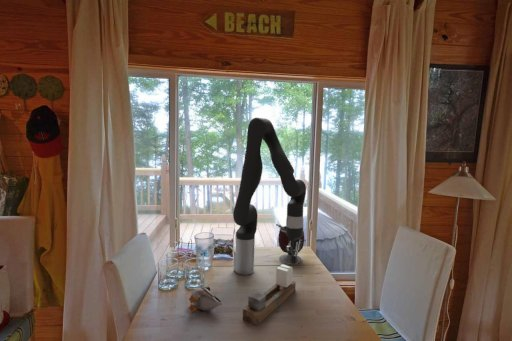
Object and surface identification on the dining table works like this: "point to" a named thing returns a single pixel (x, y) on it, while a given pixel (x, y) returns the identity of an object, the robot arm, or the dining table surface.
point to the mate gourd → (284, 242)
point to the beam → (265, 302)
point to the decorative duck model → (203, 299)
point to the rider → (284, 276)
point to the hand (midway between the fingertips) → (293, 263)
